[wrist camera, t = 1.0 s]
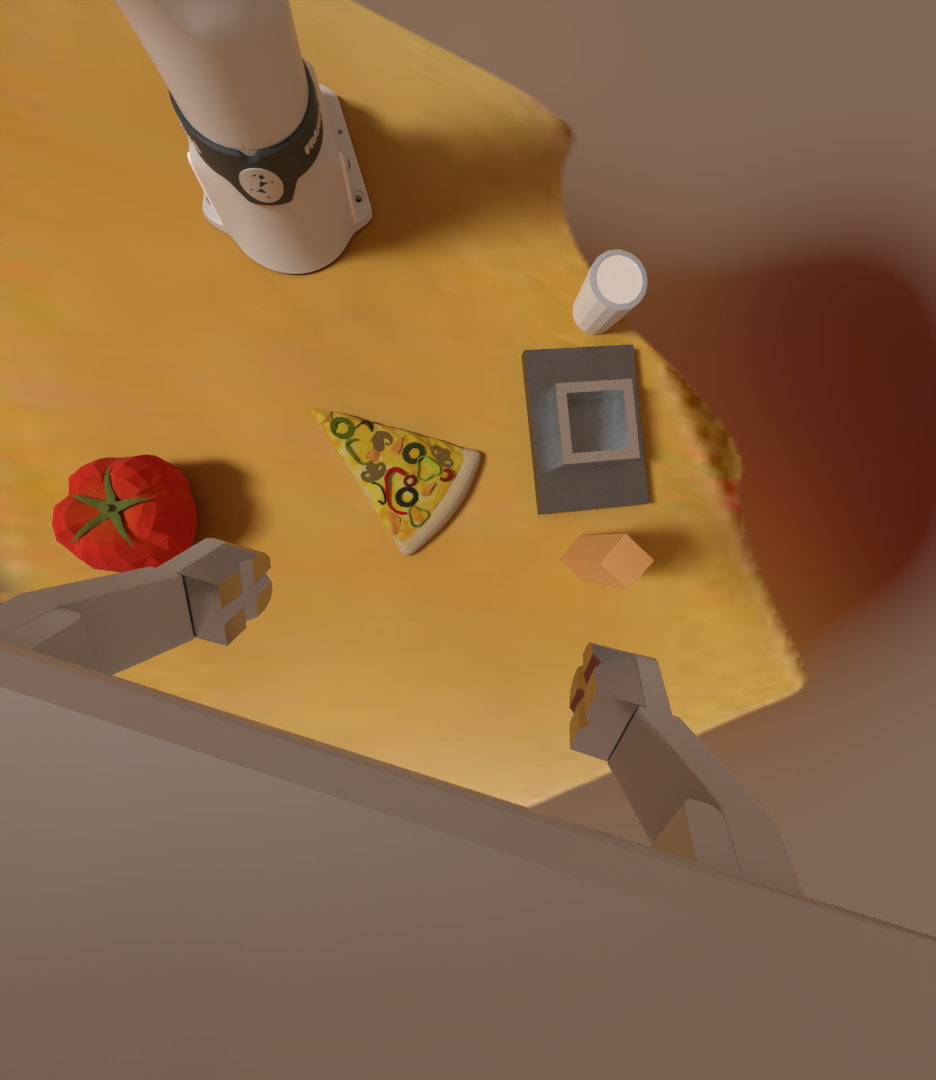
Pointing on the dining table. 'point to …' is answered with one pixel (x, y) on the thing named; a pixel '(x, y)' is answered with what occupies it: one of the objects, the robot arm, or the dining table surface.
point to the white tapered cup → (609, 291)
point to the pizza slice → (403, 475)
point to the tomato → (126, 513)
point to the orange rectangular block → (607, 560)
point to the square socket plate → (585, 428)
